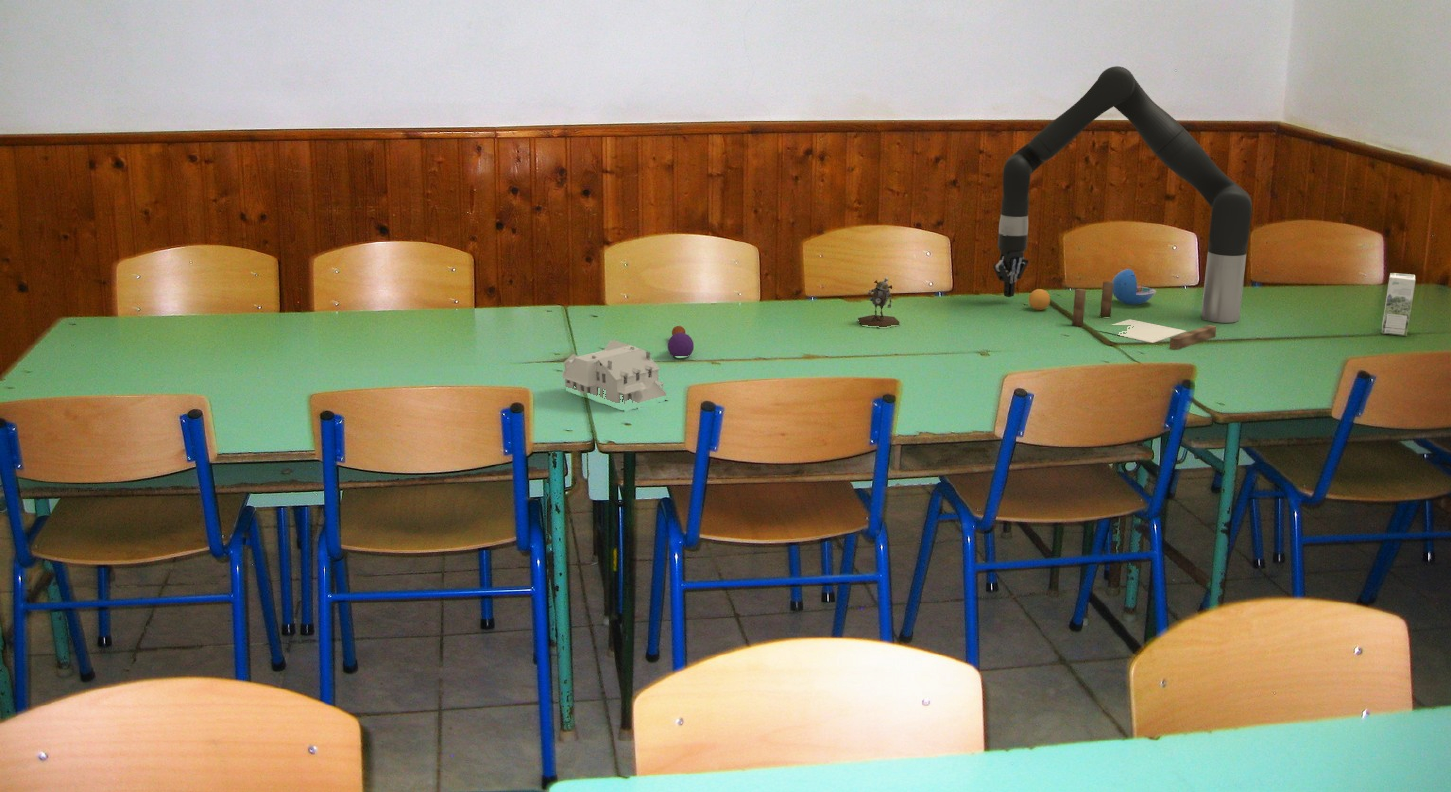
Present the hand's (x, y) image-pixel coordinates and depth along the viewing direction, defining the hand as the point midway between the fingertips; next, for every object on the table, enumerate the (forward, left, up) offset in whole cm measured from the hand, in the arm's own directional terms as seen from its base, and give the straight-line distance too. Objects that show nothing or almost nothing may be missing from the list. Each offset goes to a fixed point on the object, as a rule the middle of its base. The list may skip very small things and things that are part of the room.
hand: (1008, 296), depth 369 cm
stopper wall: (0, +54, -2) cm, 54 cm away
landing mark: (0, +40, -2) cm, 40 cm away
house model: (+127, -6, -2) cm, 128 cm away
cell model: (-24, +23, -2) cm, 33 cm away
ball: (0, +10, +1) cm, 10 cm away
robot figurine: (+42, -9, -2) cm, 43 cm away
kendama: (+95, -25, -3) cm, 98 cm away
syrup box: (-45, +83, -2) cm, 94 cm away
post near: (+6, +26, -2) cm, 26 cm away
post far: (-6, +26, -2) cm, 26 cm away
